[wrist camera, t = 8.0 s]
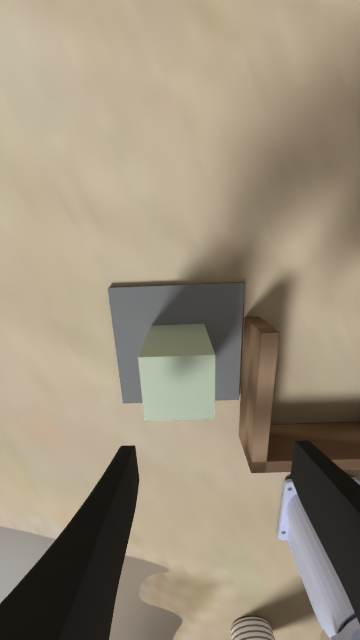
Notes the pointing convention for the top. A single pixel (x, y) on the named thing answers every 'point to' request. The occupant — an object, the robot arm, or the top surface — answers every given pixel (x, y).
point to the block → (177, 373)
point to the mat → (176, 309)
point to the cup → (251, 629)
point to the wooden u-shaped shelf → (256, 406)
